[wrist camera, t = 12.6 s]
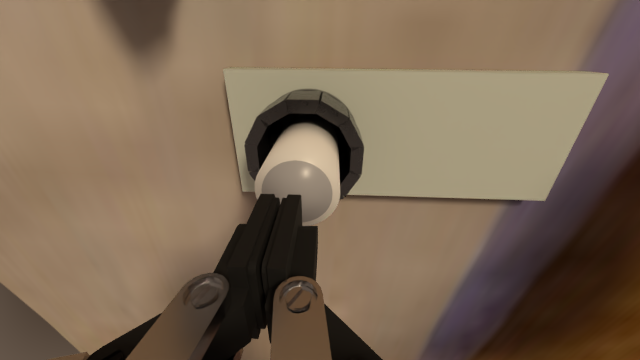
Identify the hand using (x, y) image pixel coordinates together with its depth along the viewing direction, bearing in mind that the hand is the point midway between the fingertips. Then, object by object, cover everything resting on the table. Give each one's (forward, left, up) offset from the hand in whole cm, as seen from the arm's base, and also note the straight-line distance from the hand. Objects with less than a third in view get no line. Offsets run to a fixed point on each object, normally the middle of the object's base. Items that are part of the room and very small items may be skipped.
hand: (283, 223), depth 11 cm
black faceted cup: (0, 0, -11) cm, 11 cm away
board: (-7, 0, -12) cm, 14 cm away
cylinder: (0, 0, -10) cm, 10 cm away
